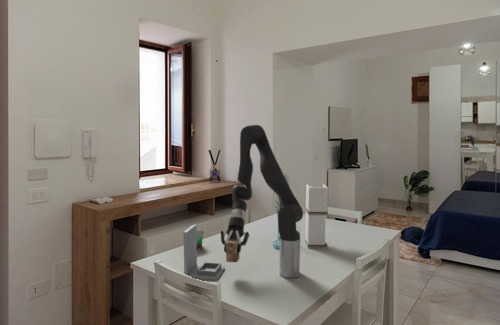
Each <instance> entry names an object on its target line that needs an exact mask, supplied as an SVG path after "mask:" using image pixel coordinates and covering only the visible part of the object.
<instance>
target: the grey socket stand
mask: <svg viewBox="0 0 500 325" xmlns="http://www.w3.org/2000/svg"><path fill="white" fill-rule="evenodd" d="M183 231H184V235H183V266H184V268H183V269H184V271H183V275H184V274H186V275H188V276H191V277H194V278H193V279H200V280H211V281H218V279H219V278H220V276H221V275H222V274H223V272H224V270H225V266H222V263H221V262H220V263H218V262H208V261H207V262H206V261H204V262H203V263H202V264H198V251H197V250H198V249H197V232H196V231H197V224H192V225H191V226H189V227H188V228H187V229H185V230H183Z"/></svg>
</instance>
